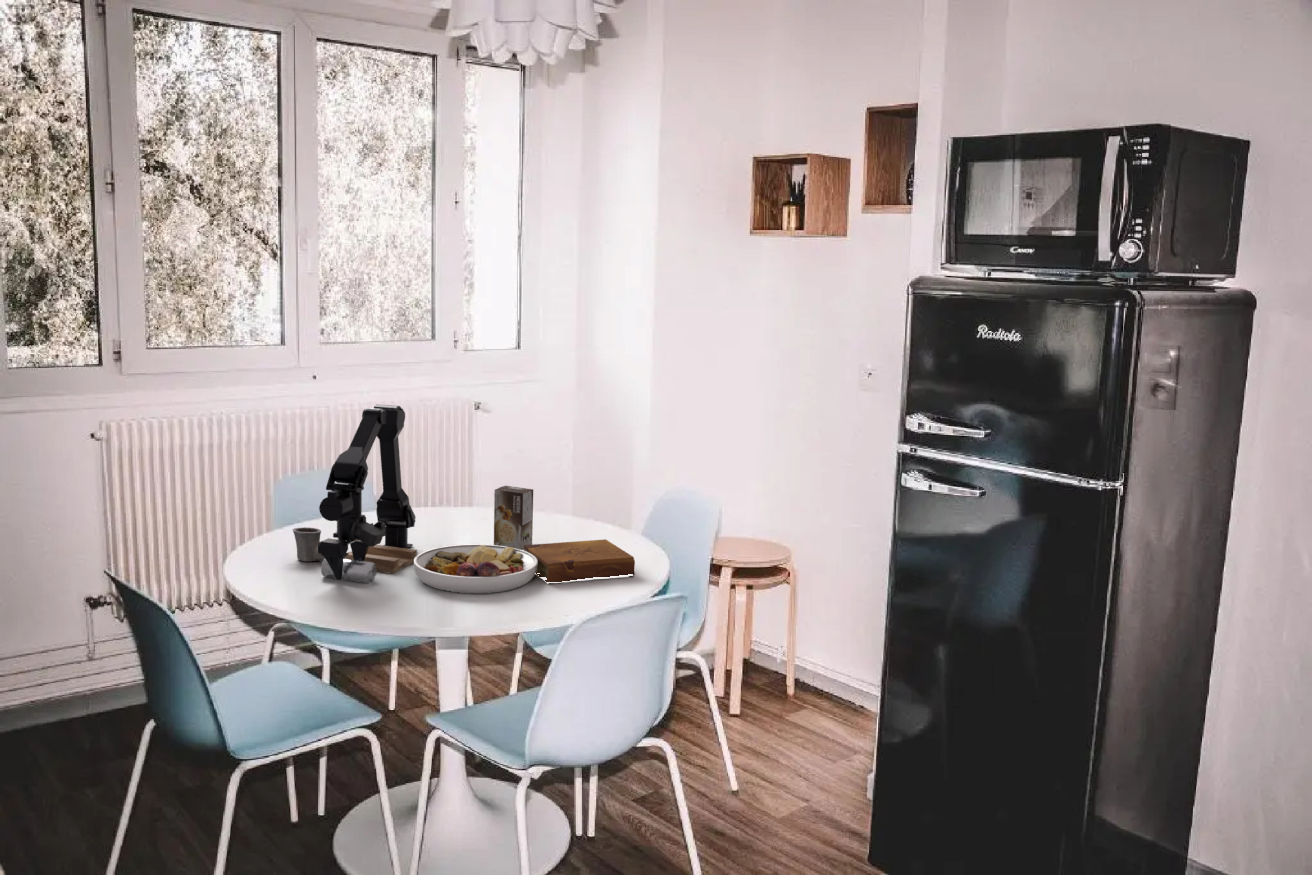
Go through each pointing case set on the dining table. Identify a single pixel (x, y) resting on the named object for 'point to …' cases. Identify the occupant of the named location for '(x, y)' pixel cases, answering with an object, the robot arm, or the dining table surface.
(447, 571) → the bowl
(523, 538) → the coffee box
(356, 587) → the dining table surface
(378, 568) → the v block
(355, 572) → the silver cylinder
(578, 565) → the wooden box
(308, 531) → the pipe
